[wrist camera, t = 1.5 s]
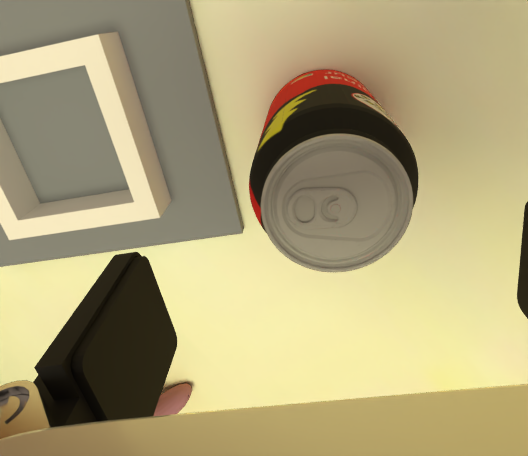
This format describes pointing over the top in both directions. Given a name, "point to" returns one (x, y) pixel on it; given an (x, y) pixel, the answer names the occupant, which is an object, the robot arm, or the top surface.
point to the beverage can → (332, 174)
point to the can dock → (106, 130)
